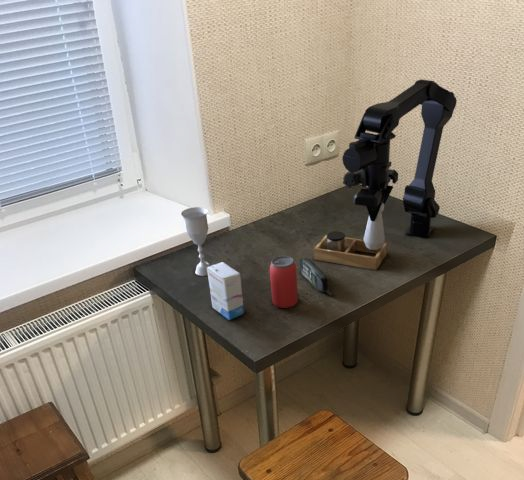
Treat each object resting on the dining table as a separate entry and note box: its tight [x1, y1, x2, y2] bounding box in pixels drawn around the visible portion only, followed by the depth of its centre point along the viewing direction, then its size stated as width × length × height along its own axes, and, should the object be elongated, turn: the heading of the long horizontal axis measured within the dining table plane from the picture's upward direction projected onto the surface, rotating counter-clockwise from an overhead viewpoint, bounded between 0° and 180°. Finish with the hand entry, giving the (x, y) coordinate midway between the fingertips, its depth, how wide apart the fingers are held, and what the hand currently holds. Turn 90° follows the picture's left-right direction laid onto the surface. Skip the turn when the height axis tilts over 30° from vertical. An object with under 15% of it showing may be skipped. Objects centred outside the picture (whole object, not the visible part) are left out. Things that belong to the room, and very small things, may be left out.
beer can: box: [269, 255, 299, 309], centre depth 142 cm, size 7×7×12 cm
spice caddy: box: [313, 233, 388, 271], centre depth 161 cm, size 10×18×4 cm, turn 63°
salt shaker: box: [363, 203, 386, 250], centre depth 153 cm, size 6×6×13 cm
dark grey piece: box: [299, 257, 333, 296], centre depth 150 cm, size 5×3×15 cm
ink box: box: [207, 261, 245, 321], centre depth 141 cm, size 9×5×12 cm, turn 35°
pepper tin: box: [326, 230, 346, 252], centre depth 162 cm, size 5×5×6 cm
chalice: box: [180, 206, 211, 277], centre depth 156 cm, size 7×7×18 cm
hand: (375, 217), depth 152 cm, fingers closed on salt shaker, 4 cm apart
